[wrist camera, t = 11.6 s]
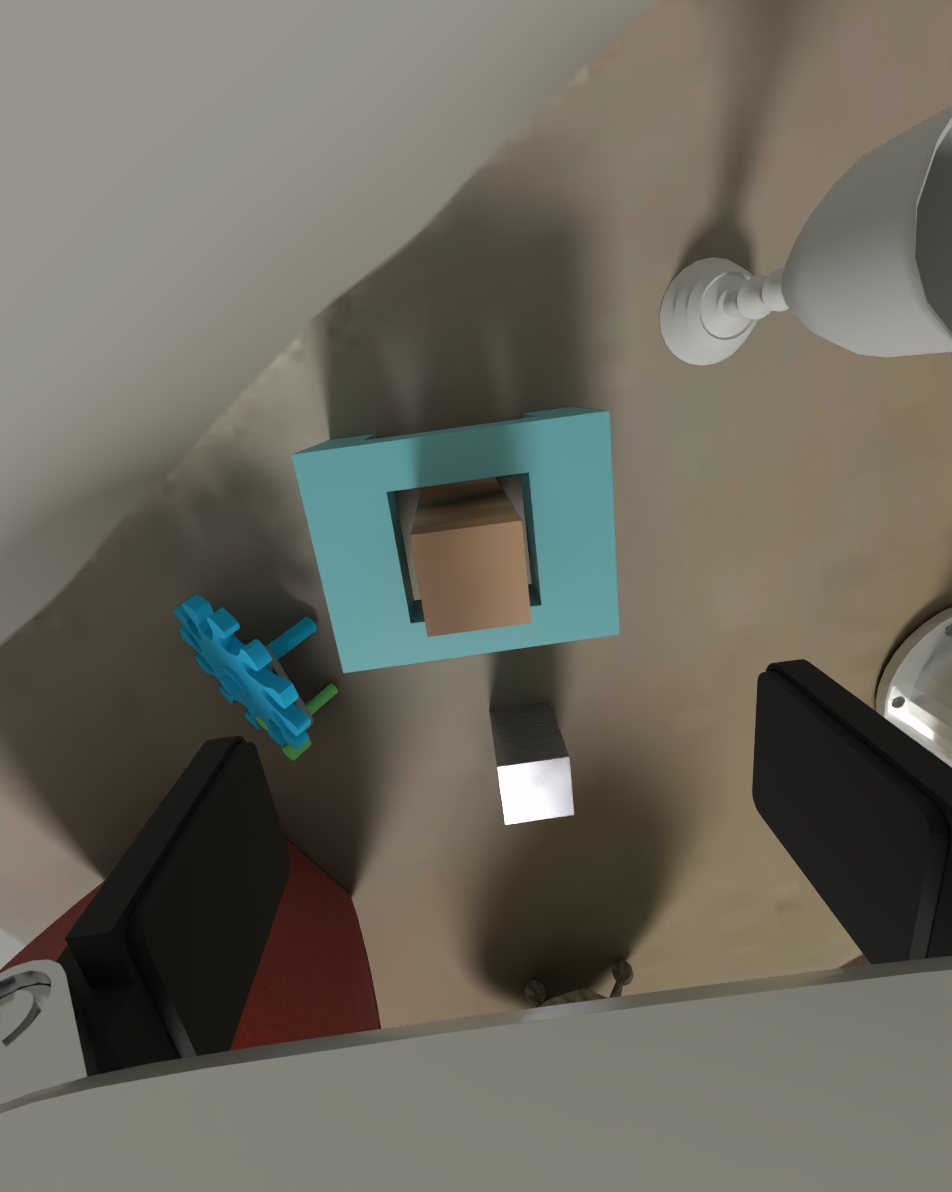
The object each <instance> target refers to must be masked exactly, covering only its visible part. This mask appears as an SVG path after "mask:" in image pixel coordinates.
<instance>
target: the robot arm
mask: <svg viewBox="0 0 952 1192" xmlns="http://www.w3.org/2000/svg"><path fill="white" fill-rule="evenodd" d="M752 794H753V800H754V803H755V806H756V808H757V810H758V812H759V814H760V815H761V816H762V818H763V819H764V821H765V822H766V823H767V825H768V826H769V827H770V829H771V830H772V831H773V833H774V834H775V835H776V837H777V838H778V839H779V841H780V842H781V843H782V845H783V846H784V848H785V849H786V850H787V852H788V853H789V854H790V856H791V857H792V858H793V860H794V861H795V862H796V864H797V865H798V866H799V868H800V869H801V870H802V872H803V873H804V874H805V876H806V877H807V879H808V880H809V881H810V883H811V884H812V885H813V887H814V888H815V889H816V891H817V892H818V893H819V895H820V896H821V897H822V899H823V900H824V901H825V903H826V904H827V905H828V907H829V908H830V910H831V911H832V912H833V914H834V915H835V916H836V918H837V919H838V920H839V922H840V923H841V924H842V926H843V927H844V928H845V930H846V931H847V932H848V934H849V935H850V937H851V938H852V939H853V941H854V942H855V943H856V945H857V946H858V947H859V949H860V950H861V951H862V953H863V954H864V955H865V957H866V958H867V959H868V961H869V962H870V963H871V965H863V966H855V967H847V968H839V969H831V970H823V971H815V972H807V973H800V974H792V975H784V976H776V977H768V978H760V979H752V980H744V981H737V982H729V983H721V984H713V985H705V986H697V987H689V988H682V989H674V990H666V991H659V992H651V993H644V994H636V995H628V996H621V997H613V998H606V999H598V1000H591V1001H583V1002H576V1003H568V1004H560V1005H553V1006H546V1007H538V1008H531V1009H523V1010H516V1011H508V1012H501V1013H494V1014H486V1015H479V1016H471V1017H464V1018H456V1019H449V1020H442V1021H435V1022H428V1023H420V1024H413V1025H406V1026H399V1027H392V1028H385V1029H377V1030H370V1031H363V1032H356V1033H349V1034H342V1035H334V1036H327V1037H320V1038H313V1039H306V1040H299V1041H292V1042H284V1043H277V1044H270V1045H264V1046H257V1047H251V1048H245V1049H238V1050H232V1051H230V1049H231V1046H232V1043H233V1040H234V1037H235V1034H236V1031H237V1028H238V1025H239V1022H240V1019H241V1016H242V1013H243V1011H244V1008H245V1005H246V1002H247V999H248V996H249V993H250V990H251V987H252V984H253V981H254V978H255V975H256V972H257V969H258V966H259V963H260V960H261V957H262V955H263V952H264V949H265V946H266V943H267V940H268V937H269V934H270V931H271V928H272V925H273V922H274V919H275V916H276V913H277V910H278V907H279V904H280V902H281V899H282V896H283V893H284V890H285V887H286V884H287V881H288V878H289V874H290V855H289V851H288V848H287V845H286V842H285V838H284V835H283V832H282V829H281V826H280V822H279V819H278V816H277V813H276V810H275V806H274V803H273V800H272V797H271V793H270V790H269V787H268V784H267V781H266V777H265V774H264V771H263V768H262V765H261V761H260V758H259V755H258V752H257V749H256V746H255V745H254V744H253V743H252V742H247V743H246V741H245V739H244V738H243V737H241V736H233V737H225V738H218V739H211V740H207V741H206V742H205V743H204V744H203V746H202V747H201V748H200V750H199V751H198V753H197V754H196V755H195V757H194V758H193V760H192V761H191V762H190V764H189V765H188V767H187V768H186V769H185V771H184V772H183V774H182V775H181V776H180V778H179V779H178V781H177V782H176V783H175V785H174V786H173V788H172V789H171V790H170V792H169V793H168V795H167V796H166V797H165V799H164V800H163V801H162V803H161V804H160V806H159V807H158V808H157V810H156V811H155V813H154V814H153V815H152V817H151V818H150V820H149V821H148V822H147V824H146V825H145V827H144V828H143V829H142V831H141V832H140V834H139V835H138V836H137V838H136V839H135V841H134V842H133V843H132V845H131V846H130V848H129V849H128V850H127V852H126V853H125V855H124V856H123V857H122V859H121V860H120V862H119V863H118V864H117V866H116V867H115V869H114V870H113V871H112V873H111V874H110V876H109V877H108V878H107V880H106V881H105V882H104V884H103V885H102V887H101V888H100V889H99V891H98V892H97V894H96V895H95V896H94V898H93V899H92V901H91V902H90V903H89V905H88V906H87V908H86V909H85V910H84V912H83V913H82V915H81V916H80V917H79V919H78V920H77V922H76V923H75V924H74V926H73V927H72V929H71V930H70V931H69V933H68V934H67V936H66V937H65V938H64V939H65V940H66V942H67V944H68V945H67V946H66V947H65V949H64V950H63V952H62V953H61V955H60V956H59V957H58V959H57V960H56V962H54V961H51V960H33V961H30V962H26V963H23V964H20V965H17V966H14V967H11V968H9V969H7V970H5V971H3V972H1V973H0V1192H952V607H951V608H948V609H946V610H944V611H942V612H940V613H939V614H937V615H936V616H934V617H933V618H931V619H930V620H928V621H927V622H925V623H924V624H922V625H921V626H920V627H919V628H918V629H917V630H916V631H914V632H913V633H912V634H911V635H910V636H909V637H908V638H907V639H906V640H905V641H904V642H903V644H902V645H901V646H900V647H899V648H898V650H897V651H896V652H895V653H894V655H893V657H892V658H891V660H890V662H889V663H888V665H887V667H886V668H885V671H884V673H883V676H882V678H881V681H880V683H879V686H878V692H877V697H876V711H875V710H873V709H872V708H871V707H869V706H868V705H866V704H865V703H864V702H862V701H861V700H860V699H858V698H857V697H856V696H854V695H853V694H852V693H850V692H849V691H848V690H846V689H845V688H843V687H842V686H841V685H839V684H838V683H837V682H835V681H834V680H833V679H831V678H830V677H829V676H827V675H826V674H824V673H823V672H822V671H820V670H819V669H818V668H816V667H815V666H814V665H812V664H811V663H810V662H808V661H806V660H804V659H801V660H793V661H785V662H778V663H771V664H770V665H768V667H767V669H766V672H763V673H761V674H760V675H759V677H758V683H757V704H756V725H755V746H754V766H753V787H752Z"/></svg>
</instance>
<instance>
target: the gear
mask: <svg viewBox="0 0 952 1192" xmlns="http://www.w3.org/2000/svg"><path fill="white" fill-rule="evenodd" d="M173 612H174V614H175V616H176V617H177V618H178V619H179V621H180V622H181V623H182V624H183V625H184V626H182V627H180V628H179V631H180V634H181V637H182V638H183V639H184V640H185V641H186V642H187V643H188V644H189V645H190V646H192V647H193V648H194V649H195V650H196V651H197V652H198V653H199V654H197V655H196V656H194V657H195V659H196V661H197V662H198V664H199V666H200V667H201V669H202V670H203V671H204V672H205V673H207V674H211V675H213V676H214V677H216V678H217V679H218V680H219V681H220V683H221V686H219V687H218V689H219V690H220V692H221V693H222V695H223V696H224V697H225V698H226V699H227V701H228V702H229V703H231V704H233V703H234V702H235V701H238V702H240V703H242V704H243V705H244V706H245V707H246V708H247V709H248V711H247V712H246V713H245V714H244V716H245V718H246V719H247V720H248V721H249V722H250V723H251V724H252V725H253V726H254V727H255V728H256V729H257V730H259V729H261V728H262V727H263V728H264V729H265V730H267V732H268V734H269V736H270V737H271V739H272V740H274V741H275V742H276V743H277V744H279V745H280V746H282V750H283V752H284V753H285V754H286V756H287V757H288V758H289V759H291V760H292V761H294V760H296V759H297V758H298V757H299V756H300V755H301V754H302V753H303V752H304V751H305V750H307V749H308V748H309V747H310V746H311V745H312V744H311V741H310V740H309V738H310V737H309V735H308V734H307V732H306V730H307V729H308V728H309V727H310V726H311V725H313V724H314V720H313V718H312V715H313V714H314V713H315V712H316V711H317V710H318V709H320V708H321V707H322V706H323V705H324V704H325V703H326V702H328V701H329V700H330V699H331V698H332V697H333V696H334V695H336V694H337V693H338V690H337V688H336V687H335V686H334V685H333V684H329V685H328V686H327V687H326V688H325V689H323V690H322V691H321V692H320V693H319V694H317V695H316V696H315V697H314V698H313V699H312V700H310V701H309V702H308V703H307V704H306V705H305V704H304V703H303V701H302V699H301V698H300V696H299V694H298V693H297V691H296V689H295V687H294V685H293V683H292V682H291V681H290V680H289V678H288V676H287V675H286V673H285V671H284V670H283V668H282V666H281V665H280V663H279V661H278V659H280V658H281V657H282V656H284V655H285V654H286V653H288V652H289V651H290V650H291V649H293V648H294V647H295V646H297V645H298V644H299V643H301V642H302V641H303V640H305V639H306V638H307V637H308V636H310V635H311V634H312V633H314V632H315V631H316V630H317V626H316V624H315V622H314V621H313V620H312V619H311V618H309V617H305V618H304V619H302V620H301V621H300V622H298V623H297V624H295V625H294V626H293V627H291V628H290V629H289V630H287V631H286V632H285V633H283V634H282V635H280V636H279V637H278V638H276V639H275V640H274V641H272V642H271V643H270V644H268V645H267V646H265V645H263V644H262V643H261V642H260V641H259V640H257V639H254V640H253V641H252V642H250V643H249V644H247V645H245V644H243V643H241V642H240V641H239V640H238V639H237V638H236V636H235V635H234V632H235V631H237V630H238V629H239V628H240V626H239V623H238V622H237V621H236V620H235V618H234V617H233V616H232V615H231V614H230V613H229V612H228V611H226V610H225V609H224V608H223V607H222V608H221V609H219V610H218V611H216V612H214V613H213V609H212V607H211V605H210V604H209V602H208V601H207V600H206V599H204V598H203V597H201V596H199V595H197V594H196V595H194V596H193V597H191V598H189V599H188V600H186V601H184V602H183V603H182V606H180V607H179V608H177V609H175V610H174V611H173Z"/></svg>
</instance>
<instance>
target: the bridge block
mask: <svg viewBox="0 0 952 1192" xmlns="http://www.w3.org/2000/svg"><path fill="white" fill-rule="evenodd" d="M522 414H523V418H522V419H515V420H508V421H501V422H494V423H486V424H479V425H472V426H465V427H457V428H450V429H443V430H436V431H429V432H421V433H414V434H407V435H400V436H392V437H385V438H378V439H377V438H376V434H369V435H361V436H354V437H347V438H340V439H332V440H328V441H325V442H323V443H320V444H318V445H315V446H313V447H310V448H307V449H305V450H302V451H300V452H297V453H295V454H292V460H293V464H294V468H295V472H296V476H297V481H298V485H299V489H300V493H301V497H302V502H303V506H304V510H305V514H306V518H307V523H308V527H309V531H310V535H311V539H312V544H313V548H314V552H315V556H316V560H317V565H318V569H319V573H320V577H321V581H322V586H323V590H324V594H325V598H326V602H327V607H328V611H329V615H330V619H331V623H332V628H333V632H334V636H335V640H336V644H337V649H338V653H339V657H340V661H341V665H342V670H343V673H349V672H356V671H364V670H371V669H378V668H385V667H392V666H399V665H406V664H413V663H420V662H427V661H434V660H441V659H448V658H456V657H463V656H470V655H477V654H484V653H491V652H498V651H505V650H512V649H519V648H526V647H533V646H540V645H548V644H555V643H562V642H569V641H576V640H583V639H590V638H597V637H604V636H611V635H618V634H619V613H618V590H617V568H616V545H615V522H614V499H613V477H612V454H611V431H610V411H608V410H597V409H586V408H575V407H564V408H556V409H549V410H542V411H535V412H528V413H522ZM520 473H521V482H522V492H523V502H524V512H525V522H526V532H527V542H528V552H529V562H530V572H531V582H532V584H529V585H528V591H529V601H530V612H531V622H532V623H529V624H521V625H514V626H506V627H499V628H491V629H484V630H476V631H469V632H461V633H454V634H446V635H439V636H432V637H427V631H426V625H425V619H424V613H423V607H422V601H421V600H415V601H414V598H413V592H412V587H411V581H410V576H409V570H408V564H407V559H406V553H405V548H404V542H403V537H402V531H401V525H400V520H399V514H398V509H397V503H396V498H395V492H394V491H398V490H405V489H412V488H419V487H426V486H433V485H441V484H448V483H455V482H462V481H469V480H477V479H484V478H491V477H498V476H505V475H513V474H520Z"/></svg>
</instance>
